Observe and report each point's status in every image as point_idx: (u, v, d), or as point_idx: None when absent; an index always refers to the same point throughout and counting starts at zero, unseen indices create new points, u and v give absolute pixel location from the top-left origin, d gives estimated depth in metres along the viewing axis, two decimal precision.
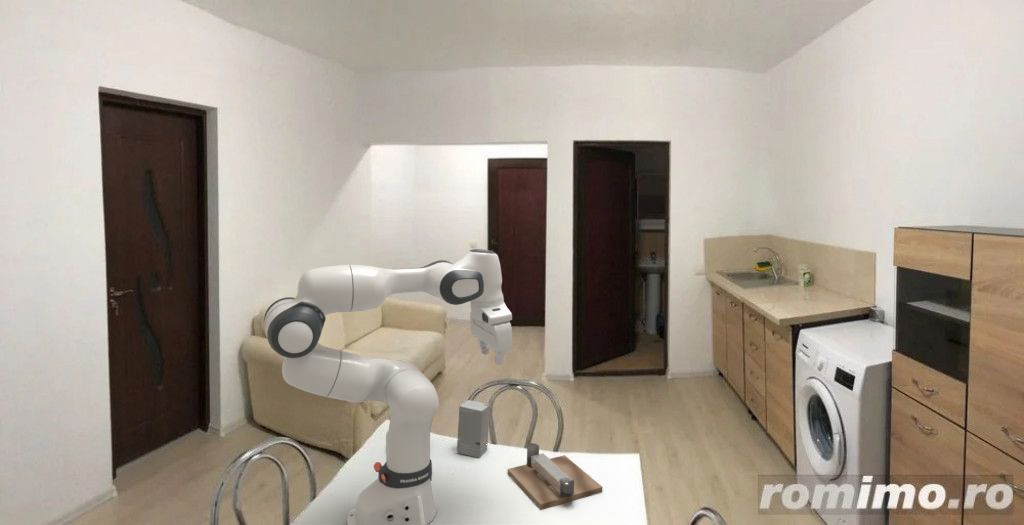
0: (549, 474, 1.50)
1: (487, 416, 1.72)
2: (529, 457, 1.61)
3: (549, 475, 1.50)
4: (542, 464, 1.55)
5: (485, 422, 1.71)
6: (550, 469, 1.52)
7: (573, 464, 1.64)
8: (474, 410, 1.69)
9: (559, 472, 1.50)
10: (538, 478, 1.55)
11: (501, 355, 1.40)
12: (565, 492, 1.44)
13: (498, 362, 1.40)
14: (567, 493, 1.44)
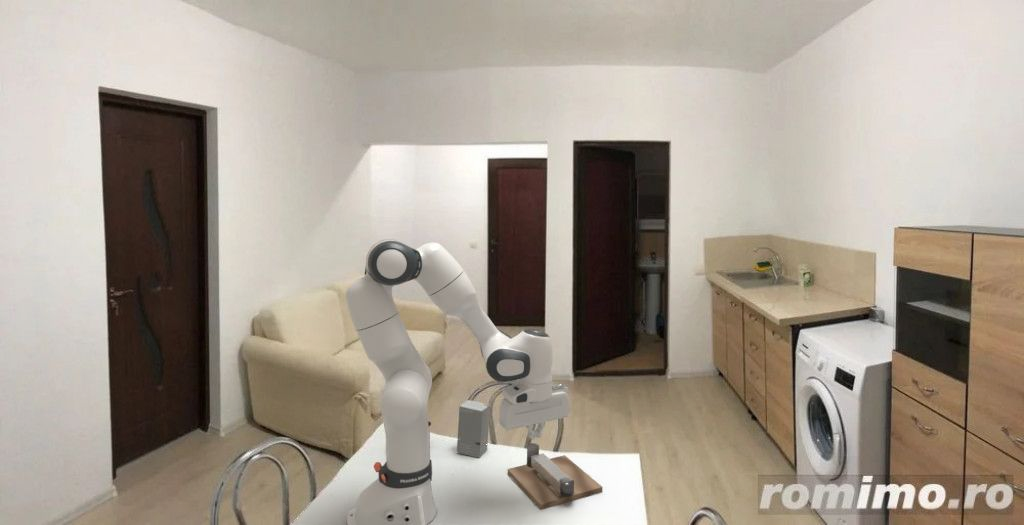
0: (549, 474, 1.50)
1: (487, 416, 1.72)
2: (529, 457, 1.61)
3: (549, 475, 1.50)
4: (542, 464, 1.55)
5: (485, 422, 1.71)
6: (550, 469, 1.52)
7: (573, 464, 1.64)
8: (474, 410, 1.69)
9: (559, 472, 1.50)
10: (538, 478, 1.55)
11: (529, 430, 1.45)
12: (565, 492, 1.44)
13: (529, 435, 1.46)
14: (567, 493, 1.44)
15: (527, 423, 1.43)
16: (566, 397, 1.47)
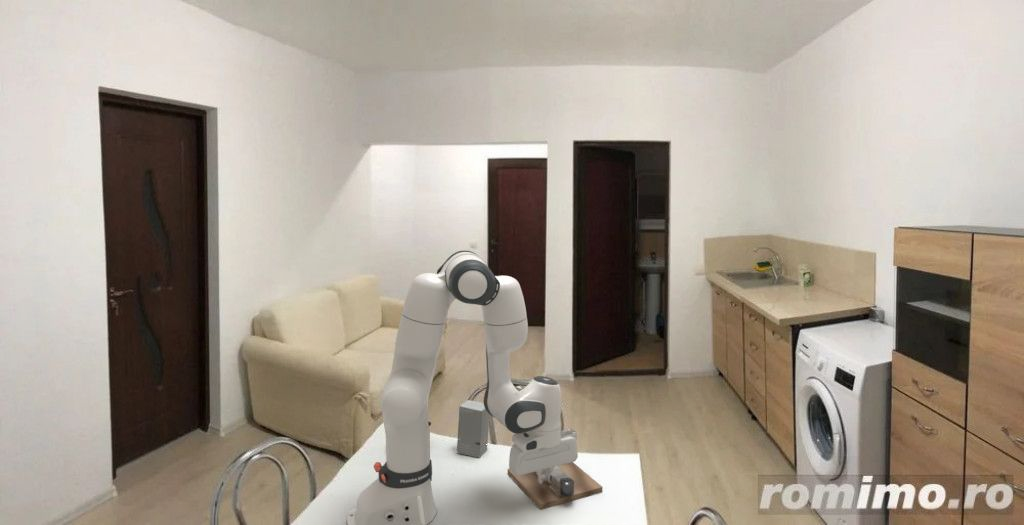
0: None
1: (487, 416, 1.72)
2: None
3: None
4: None
5: (485, 422, 1.71)
6: None
7: (573, 464, 1.64)
8: (474, 410, 1.69)
9: (559, 472, 1.50)
10: None
11: (538, 475, 1.48)
12: (565, 492, 1.44)
13: (538, 479, 1.49)
14: (567, 493, 1.44)
15: (536, 469, 1.46)
16: (574, 442, 1.50)
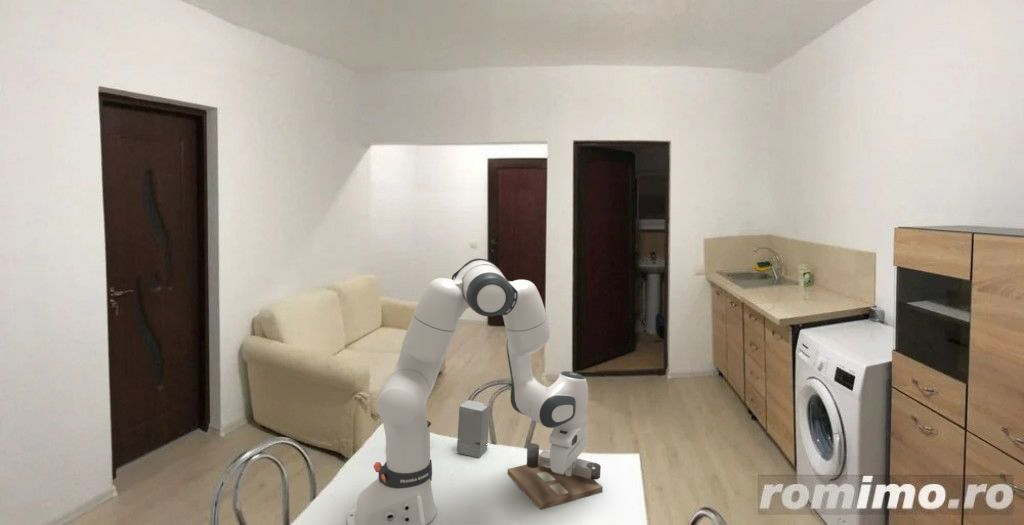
0: None
1: (487, 416, 1.72)
2: (529, 457, 1.61)
3: None
4: None
5: (485, 422, 1.71)
6: None
7: None
8: (474, 410, 1.69)
9: (578, 460, 1.57)
10: (538, 478, 1.55)
11: (568, 468, 1.52)
12: (596, 476, 1.53)
13: (566, 473, 1.53)
14: (598, 476, 1.53)
15: (571, 462, 1.49)
16: None
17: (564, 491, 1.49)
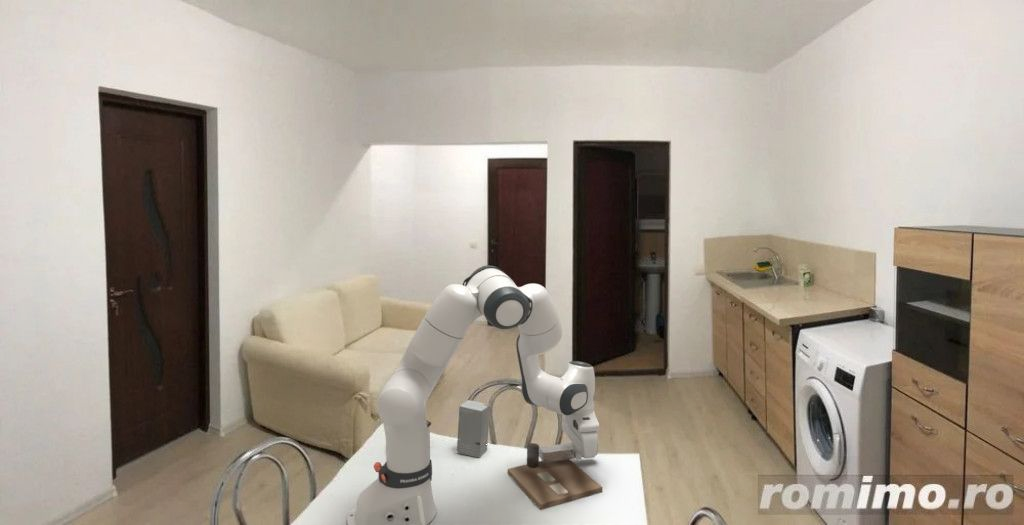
0: None
1: (487, 416, 1.72)
2: (529, 457, 1.61)
3: None
4: (560, 449, 1.63)
5: (485, 422, 1.71)
6: (570, 447, 1.65)
7: (573, 464, 1.64)
8: (474, 410, 1.69)
9: None
10: (538, 478, 1.55)
11: None
12: (597, 451, 1.67)
13: (577, 457, 1.61)
14: (597, 451, 1.68)
15: None
16: None
17: (564, 491, 1.49)
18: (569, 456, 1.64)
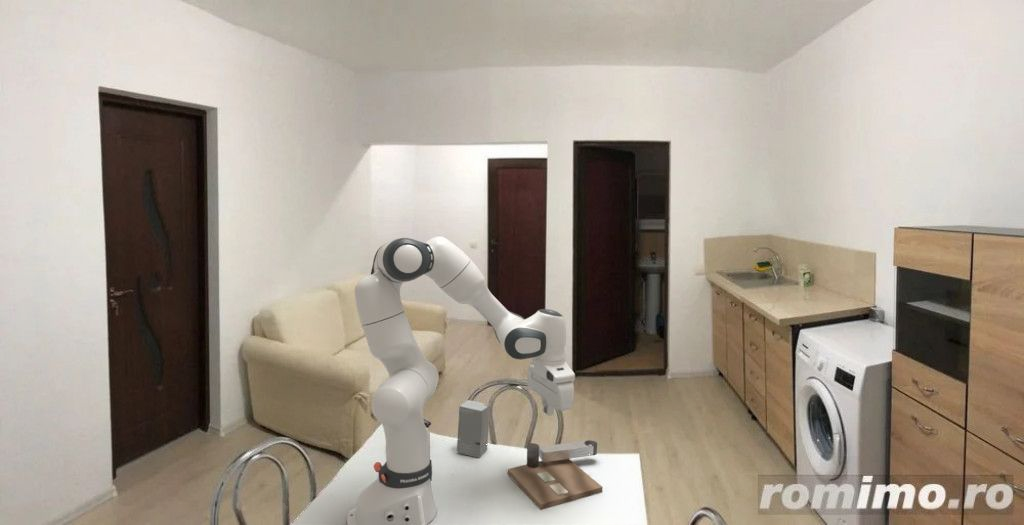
0: (576, 449, 1.64)
1: (487, 416, 1.72)
2: (529, 457, 1.61)
3: (576, 450, 1.65)
4: (560, 449, 1.63)
5: (485, 422, 1.71)
6: (570, 447, 1.65)
7: (573, 464, 1.64)
8: (474, 410, 1.69)
9: (575, 444, 1.67)
10: (538, 478, 1.55)
11: (552, 407, 1.51)
12: (596, 450, 1.67)
13: (549, 413, 1.52)
14: (596, 450, 1.68)
15: None
16: None
17: (564, 491, 1.49)
18: (569, 456, 1.64)
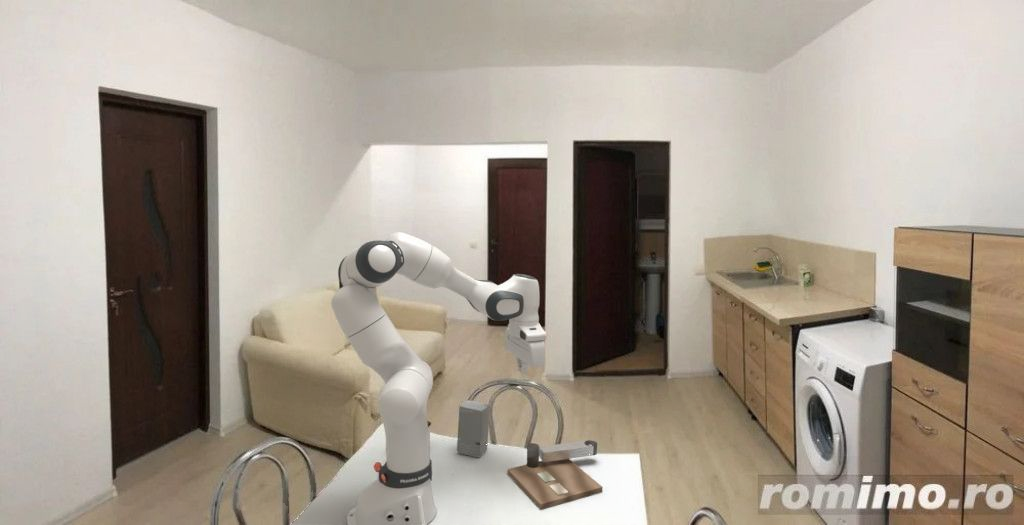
0: (576, 449, 1.64)
1: (487, 416, 1.72)
2: (529, 457, 1.61)
3: (576, 450, 1.65)
4: (560, 449, 1.63)
5: (485, 422, 1.71)
6: (570, 447, 1.65)
7: (573, 464, 1.64)
8: (474, 410, 1.69)
9: (575, 444, 1.67)
10: (538, 478, 1.55)
11: (526, 365, 1.61)
12: (596, 450, 1.67)
13: (523, 371, 1.61)
14: (596, 450, 1.68)
15: None
16: None
17: (564, 491, 1.49)
18: (569, 456, 1.64)
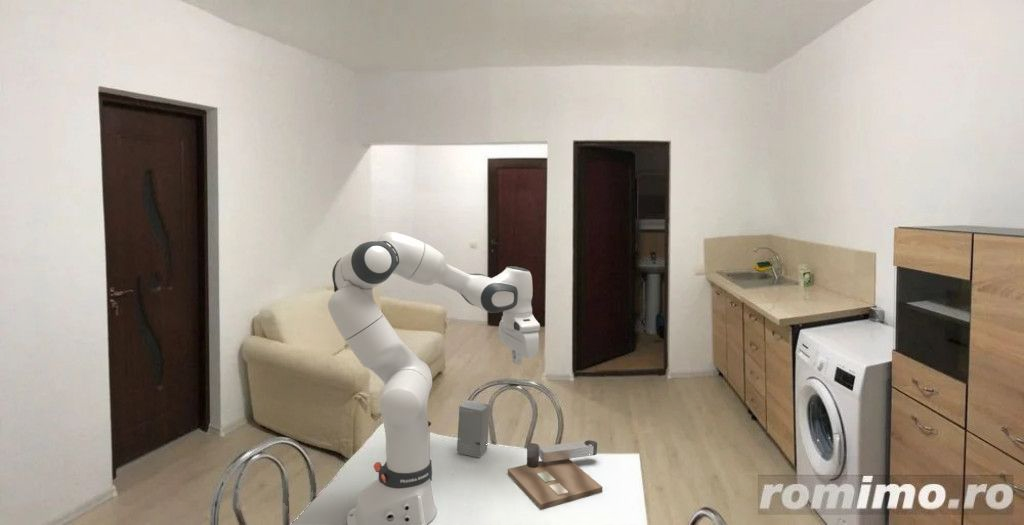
0: (576, 449, 1.64)
1: (487, 416, 1.72)
2: (529, 457, 1.61)
3: (576, 450, 1.65)
4: (560, 449, 1.63)
5: (485, 422, 1.71)
6: (570, 447, 1.65)
7: (573, 464, 1.64)
8: (474, 410, 1.69)
9: (575, 444, 1.67)
10: (538, 478, 1.55)
11: (520, 356, 1.63)
12: (596, 450, 1.67)
13: (517, 362, 1.64)
14: (596, 450, 1.68)
15: None
16: None
17: (564, 491, 1.49)
18: (569, 456, 1.64)
